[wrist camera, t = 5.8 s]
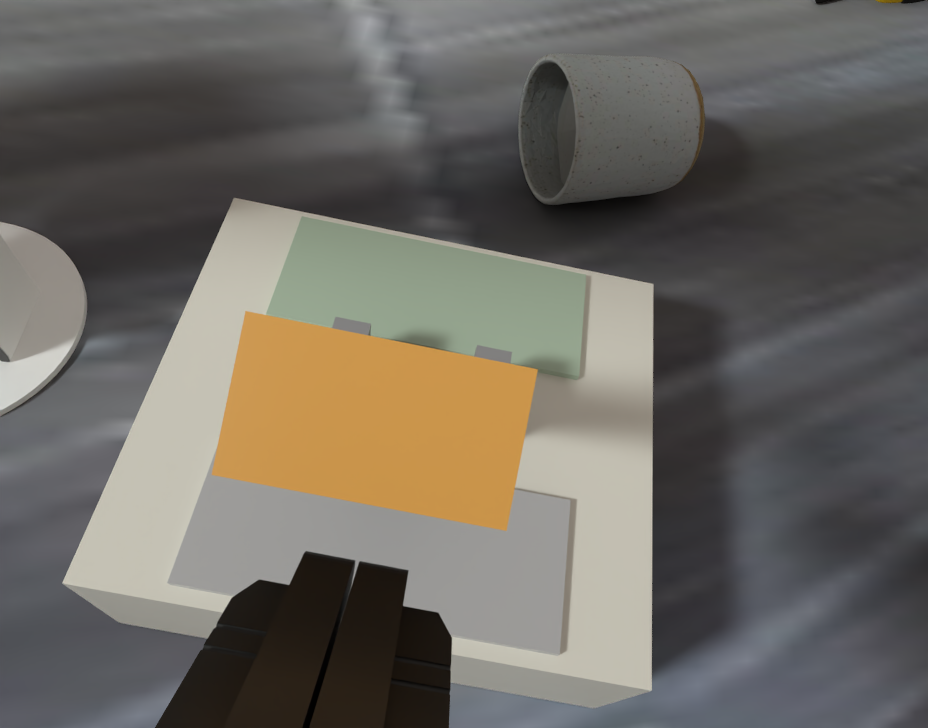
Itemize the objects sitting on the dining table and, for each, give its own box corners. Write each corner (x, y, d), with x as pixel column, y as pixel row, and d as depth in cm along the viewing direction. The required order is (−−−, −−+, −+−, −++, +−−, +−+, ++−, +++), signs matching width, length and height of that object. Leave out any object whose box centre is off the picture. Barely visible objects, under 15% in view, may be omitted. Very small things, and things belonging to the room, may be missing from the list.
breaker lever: (457, 430, 25) (506, 530, 8) (358, 410, 25) (211, 475, 8) (468, 375, 25) (537, 368, 9) (369, 356, 25) (245, 311, 8)
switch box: (594, 708, 27) (691, 678, 19) (119, 622, 26) (21, 555, 18) (609, 356, 35) (681, 237, 27) (251, 284, 34) (222, 141, 27)
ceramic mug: (677, 217, 41) (738, 107, 34) (548, 235, 39) (587, 121, 32) (608, 98, 46) (649, -18, 39) (490, 108, 44) (513, -12, 37)
